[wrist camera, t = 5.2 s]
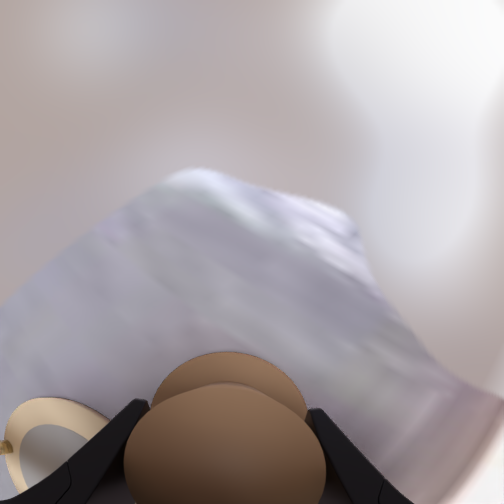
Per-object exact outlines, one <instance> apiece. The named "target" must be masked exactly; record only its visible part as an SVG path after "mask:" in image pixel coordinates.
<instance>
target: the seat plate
mask: <svg viewBox="0 0 504 504" xmlns="http://www.w3.org/2000/svg"><path fill="white" fill-rule="evenodd" d="M109 422H110V420H109V419H107V418H106V417H105V416H103V415H101V414H100V413H98V412H97V411H95V410H93V409H91V408H89V407H87V406H86V405H83V404H81V403H78V402H75V401H72V400H68V399H63V398H36V399H32V400H29V401H27V402H24V403H23V404H21V405H20V406H19V407H17V409H16V410H15V411H14V412H13V413H12V415H11V417H10V418H9V420H8V423H7V426H6V430H5V436H4V440H2V441H0V455H5V458H6V463H7V466H8V470H9V473H10V475H11V478H12V480H13V483H14V485H15V487H16V489H17V491H18V492H19V494H21V493H22V492H24V491H25V490H27V489H29V488H30V487H32V486H34V485H35V484H37V483H38V482H40V481H41V480H43V479H44V478H46V477H47V476H49V475H50V474H51V473H52V472H54V471H55V470H56V469H57V468H58V467H60V466H61V465H62V464H63V463H64V462H65V461H67V460H68V459H69V458H70V457H71V456H72V455H73V454H74V453H76V452H77V451H78V450H79V449H80V448H81V447H82V446H83V445H85V444H86V443H87V442H88V441H89V440H90V439H91V438H92V437H93V436H94V435H96V434H97V433H98V432H99V431H100V430H101V429H102V428H103V427H104V426H105V425H106V424H108V423H109ZM67 462H68V461H67ZM135 504H136V502H135Z"/></svg>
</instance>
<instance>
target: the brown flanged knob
mask: <svg viewBox="0 0 504 504" xmlns="http://www.w3.org/2000/svg"><path fill="white" fill-rule="evenodd" d="M306 414H307V407H306V404H305V401H304V399H303V396H302V395H301V393H300V391H299V390H298V388H297V386H296V385H295V384H294V383H293V381H292V380H291V379H290V378H289V377H288V376H287V375H286V374H285V373H284V372H282V371H281V370H280V369H278V368H277V367H276V366H274V365H272V364H271V363H269V362H267V361H265V360H262V359H260V358H258V357H255V356H251V355H248V354H242V353H236V352H219V353H211V354H206V355H203V356H199V357H196V358H194V359H192V360H189V361H187V362H185V363H184V364H182V365H181V366H179V367H178V368H176V369H175V370H174V371H173V372H171V373H170V374H169V375H168V376H167V378H166V379H165V380H164V381H163V382H162V384H161V385H160V387H159V388H158V390H157V392H156V394H155V396H154V398H153V401H152V404H151V409H150V411H148V412H147V413H146V414H145V415H144V416H143V417H142V418H141V419H140V420H139V422H138V423H137V424H136V426H135V427H134V429H133V430H132V432H131V434H130V436H129V439H128V441H127V444H126V448H125V453H124V474H125V479H126V483H127V485H128V488H129V491H130V493H131V495H132V497H133V499H134V501H135V502H136V504H318V503H319V500H320V498H321V496H322V493H323V490H324V486H325V480H326V463H325V458H324V454H323V450H322V448H321V446H320V443H319V441H318V439H317V438H316V436H315V434H314V433H313V431H312V430H311V429H310V427H309V426H308V425H307V424H306V423H305V422H304V420H305V417H306Z"/></svg>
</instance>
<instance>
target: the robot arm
mask: <svg viewBox="0 0 504 504" xmlns="http://www.w3.org/2000/svg"><path fill="white" fill-rule="evenodd" d="M148 411H150V408H149V405H148V402H147V401H146V400H142V399H134V400H132V401H131V402H130V403H129V404H128V405H127V406H126V407H125V408H124V409H123V410H122V411H121V412H119V413H118V414H117V415H116V416H115V417H114V418H113V419H112V420H111V421H110V422H109V423H108V424H106V425H105V426H104V427H103V428H102V429H101V430H100V431H99V432H98V433H97V434H96V435H94V436H93V437H92V438H91V439H90V440H89V441H88V442H87V443H86V444H85V445H83V446H82V447H81V448H80V449H79V450H78V451H77V452H76V453H74V454H73V455H72V456H71V457H70V458H69V459H68V460H67V461H68V462H67V461H65V462H64V463H63V464H62V465H61V466H60V467H58V468H57V469H56V470H55V471H54V472H52V473H51V474H50V475H49V476H47V477H46V478H44V479H43V480H41V481H40V482H38V483H37V484H35V485H34V486H32V487H30V488H29V489H27V490H25V491H24V492H22V493H21V494H19V495H17V496H15V497H13V498H11V499H7V500H2V501H0V504H135V501H134V499H133V497H132V495H131V493H130V491H129V488H128V485H127V483H126V479H125V474H124V453H125V448H126V444H127V441H128V439H129V436H130V434H131V432H132V430H133V429H134V427H135V426H136V424H137V423H138V422H139V420H140V419H141V418H142V417H143V416H144V415H145V414H146V413H147V412H148ZM304 422H305V423H306V424H307V425H308V426H309V427H310V429H311V430H312V431H313V433H314V434H315V436H316V438H317V439H318V441H319V443H320V446H321V448H322V450H323V454H324V458H325V463H326V480H325V486H324V490H323V493H322V496H321V498H320V500H319V503H318V504H414V503H412V502H411V501H410V500H409V499H407V498H406V497H405V496H404V495H402V494H401V493H400V492H399V491H398V490H397V489H396V488H395V487H394V486H393V485H392V484H391V483H390V482H389V481H388V480H387V479H384V476H383V475H382V474H381V473H380V472H379V471H378V470H377V469H376V468H375V467H374V466H373V465H372V464H371V463H370V462H369V460H368V459H367V458H366V457H365V456H364V455H363V454H362V453H361V452H360V451H359V450H358V449H357V448H356V446H355V445H354V444H353V443H352V442H351V441H350V440H349V439H348V438H347V437H346V436H345V434H344V433H343V432H342V431H341V430H340V429H339V428H338V427H337V426H336V424H335V423H334V422H333V421H332V420H331V419H330V418H329V416H328V415H327V414H326V413H325V412H324V411H323V410H322V409H321V408H314V409H309V410H308V411H307V414H306V417H305V420H304Z"/></svg>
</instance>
